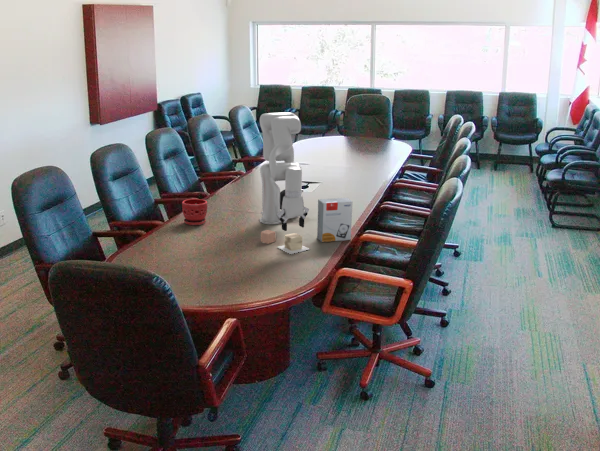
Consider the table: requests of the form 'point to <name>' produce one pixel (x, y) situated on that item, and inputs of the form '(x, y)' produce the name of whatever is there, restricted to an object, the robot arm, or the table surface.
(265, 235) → the terracotta block
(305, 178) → the table surface
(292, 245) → the maple block
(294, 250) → the felt coaster
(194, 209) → the plant pot
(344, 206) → the hard drive box
